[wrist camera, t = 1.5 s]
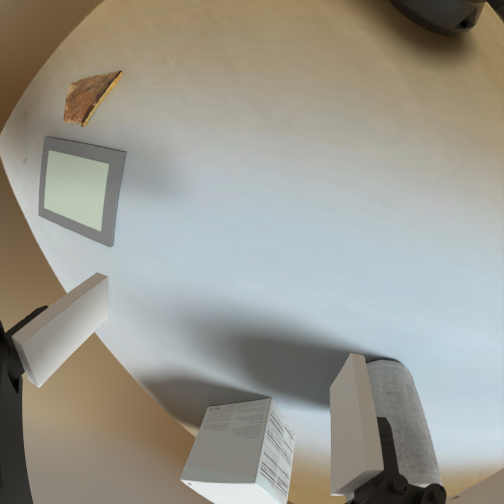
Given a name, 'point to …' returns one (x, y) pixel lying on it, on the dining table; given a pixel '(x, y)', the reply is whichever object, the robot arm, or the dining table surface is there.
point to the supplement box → (242, 454)
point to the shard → (88, 97)
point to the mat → (81, 187)
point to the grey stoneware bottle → (404, 422)
